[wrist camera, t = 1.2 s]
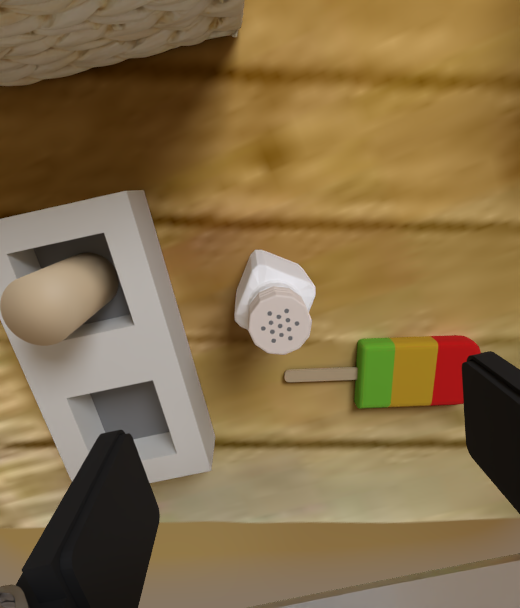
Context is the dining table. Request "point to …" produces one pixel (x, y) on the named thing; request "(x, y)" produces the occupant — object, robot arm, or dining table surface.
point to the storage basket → (102, 33)
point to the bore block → (103, 333)
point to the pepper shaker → (274, 303)
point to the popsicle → (401, 371)
